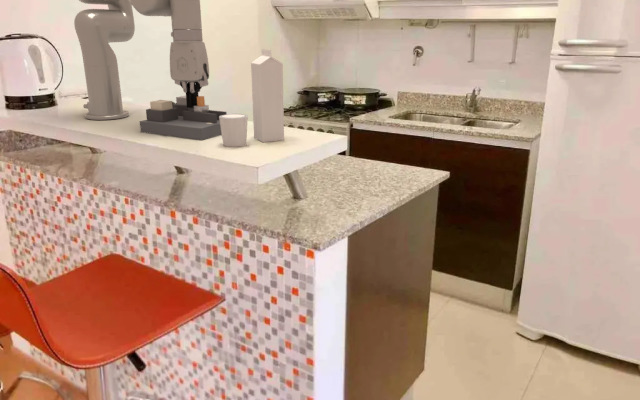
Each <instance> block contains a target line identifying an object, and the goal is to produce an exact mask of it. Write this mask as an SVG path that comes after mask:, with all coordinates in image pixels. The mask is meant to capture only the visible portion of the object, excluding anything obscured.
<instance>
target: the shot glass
mask: <svg viewBox="0 0 640 400" xmlns="http://www.w3.org/2000/svg"><path fill="white" fill-rule="evenodd" d="M248 118H249V116H248V115H247V114H244V113H243V114H242V113H227V114H226V115H221V116H219V120H220V126H221V133H222V135H221V139H222V145H223V146H224V147H228V148H229V147H231V148H237V147H243V146H246V145H247V140H248V139H247V137H248Z"/></svg>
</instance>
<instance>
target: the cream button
mask: <svg viewBox="0 0 640 400" xmlns="http://www.w3.org/2000/svg"><path fill="white" fill-rule="evenodd" d="M172 102H173V100H165V99H164V100H163V99H159V100H152V101H149V105H150V107H149V108H150V109H151V110H160V111H163V110H168V109H173V108H172Z"/></svg>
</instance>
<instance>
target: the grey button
mask: <svg viewBox="0 0 640 400" xmlns="http://www.w3.org/2000/svg"><path fill="white" fill-rule="evenodd" d="M175 99H176V100H175V101H176V102H175V103H177V105H187V102H186V95H181V96H176V97H175Z"/></svg>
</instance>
